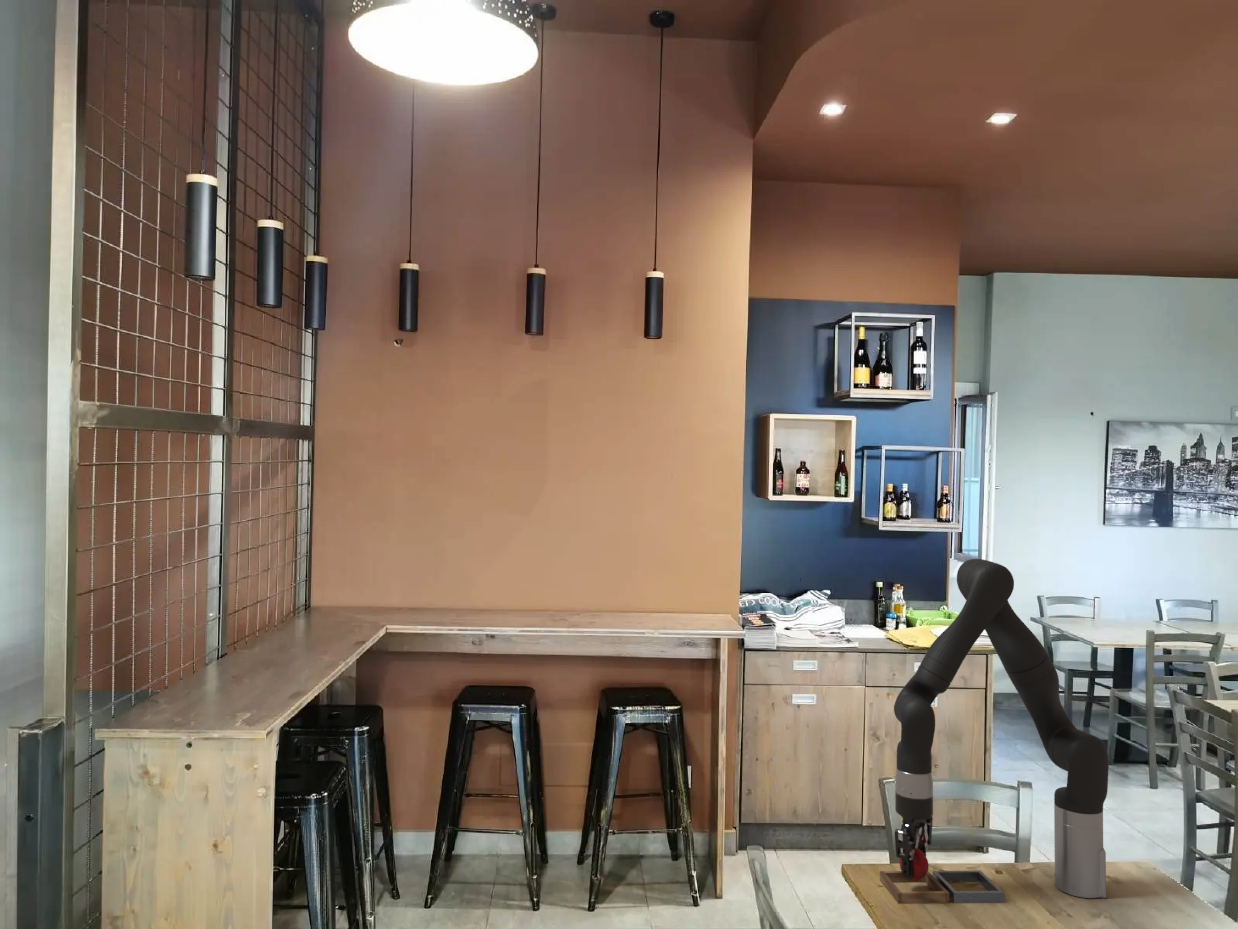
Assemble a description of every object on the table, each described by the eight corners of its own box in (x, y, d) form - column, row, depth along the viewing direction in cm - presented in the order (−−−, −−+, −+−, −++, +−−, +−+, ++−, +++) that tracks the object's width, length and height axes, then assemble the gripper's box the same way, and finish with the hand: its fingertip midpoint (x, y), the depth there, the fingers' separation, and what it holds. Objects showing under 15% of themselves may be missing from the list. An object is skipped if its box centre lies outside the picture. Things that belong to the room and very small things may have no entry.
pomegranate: (930, 889, 179) (930, 850, 179) (901, 886, 180) (901, 847, 181) (926, 877, 185) (926, 839, 185) (897, 875, 186) (898, 837, 186)
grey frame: (980, 880, 189) (980, 870, 189) (1004, 902, 178) (1004, 892, 178) (932, 880, 188) (932, 871, 188) (953, 903, 177) (953, 893, 178)
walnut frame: (928, 880, 188) (928, 871, 188) (949, 903, 177) (949, 893, 178) (879, 880, 187) (879, 871, 188) (898, 903, 177) (898, 893, 177)
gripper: (917, 804, 175) (917, 889, 175) (945, 787, 186) (945, 867, 185) (882, 795, 180) (882, 878, 180) (911, 779, 191) (911, 857, 190)
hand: (914, 872), depth 183 cm, fingers closed on pomegranate, 6 cm apart
